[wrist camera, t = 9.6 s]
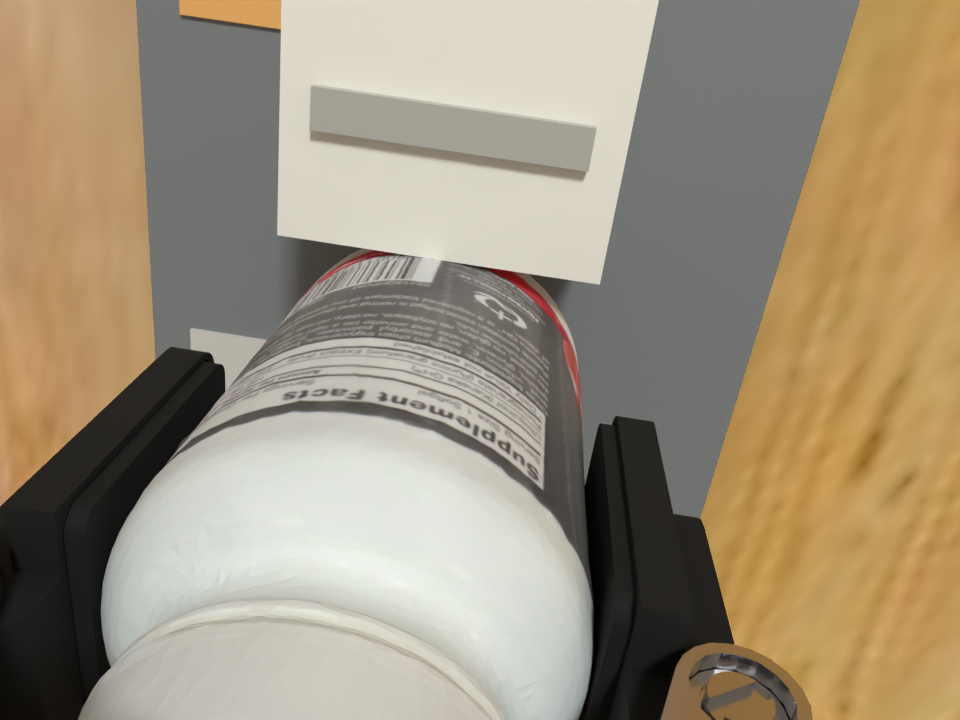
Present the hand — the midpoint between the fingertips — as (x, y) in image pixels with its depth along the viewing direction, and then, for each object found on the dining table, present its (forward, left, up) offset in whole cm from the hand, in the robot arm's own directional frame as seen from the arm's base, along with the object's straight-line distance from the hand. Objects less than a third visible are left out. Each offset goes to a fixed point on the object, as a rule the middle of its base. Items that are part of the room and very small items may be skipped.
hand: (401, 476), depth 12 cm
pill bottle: (0, 0, -4) cm, 4 cm away
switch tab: (+4, -3, -5) cm, 6 cm away
